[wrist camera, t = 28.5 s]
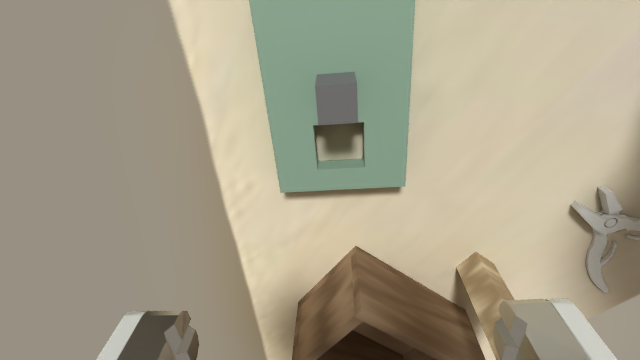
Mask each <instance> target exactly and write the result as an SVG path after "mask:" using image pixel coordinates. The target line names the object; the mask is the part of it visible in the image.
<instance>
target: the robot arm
mask: <svg viewBox="0 0 640 360" xmlns="http://www.w3.org/2000/svg"><path fill="white" fill-rule="evenodd" d="M498 311H499V313H500V315H501V318H500V319H499V320H497V321H496V322H495V325H494V329H493V336H494V343H495V347H496V350H497V353H498V355H499V358H500V360H617V359H616V357H615V356H614V355H613V354H612V352H611V351H610V350H609V348H608V347H607V346H606V344H605V343H604V342H603V341H602V339H601V338H600V337H599V336H598V334H597V333H596V331H595V330H594V329H593V327H592V326H591V325H590V324H589V322H588V321H587V320H586V318H585V317H584V316H583V314H582V313H581V312H580V310H579V309H578V308H577V307H576V305H575V304H574V303H573V302H572V301H571V300H569V299H545V300H544V299H529V300H506V301H502V302H501V303H500V306H499V309H498ZM190 320H191V318H190V316H189V314H188V312H187V311H130V312H128V313H127V314H126V315H125V316H124V317H123V318H122V320H121V321H120V323H119V324H118V326H117V328H116V329H115V331H114V332H113V334H112V335H111V337H110V339H109V340H108V342H107V343H106V345H105V346H104V348H103V350H102V351H101V353H100V355H99V356H98V358H97V359H96V360H196V358H197V354H198V346H199V341H198V335H197V332H196V330H195V329H194V328H192V327H191V326H189V323H190Z"/></svg>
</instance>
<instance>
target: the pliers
mask: <svg viewBox="0 0 640 360" xmlns="http://www.w3.org/2000/svg"><path fill="white" fill-rule="evenodd" d="M598 192H599V196H600V201H601V205H602V210H601V211H600V212H598V213H596V212H593V211H592V210H590V209H588V208H587V207H585V206H583V205H582V204H580V203H578V202H577V201H574V202H573V203H572V204H571V206H572V207H573V208H574V209H575V210H576V211H577V212H578V213H579V214H580V216H581V217H582V218H583V219H584V220H585V221H586V222H587V223H588V224H589V225H590V226H591V227H592V231H593V238H592V242H591V244H590V246H589V248H588V250H587V254H586V267H587V271H588V275H589V276H590V278H591V280H592V281H593V282H594V284H595V285H596V286H597V287H598V288H599V289H601V290H602V291H603V292H605V293H607V292H609V289H608V288H607V286H606V284H605V282H604V280H603V277H602V273H601V268H602V267H603V265H604V264H605V263H607V262H608V261H609V260H610V258H611V257H612V256H613V255H614V252H615V250H616V247H617V243H616V242H615V241H614V242H612V245H611V248H610V251H609V252H608V254H607V255H606V256H605V257H604V258H603V259H601V256H602V254H603V251H604V249H605V247H606V245H607V243H608V240H607V235H606V234H609V233H613V232H616V231H619V230H622V229H626V230H628V231H629V232H630V231H631V230H633V231H640V218H634V217H629V216H626V215H624V214H623V215H620V212H619V211H621V210H623V209H622V207H621V205H620V203H619V202H618V200H617V198H616V197H615V195H614V193H613V191H612V190H610V189H609V188H608V187H606V186H605V185H602V186H600V187H598ZM625 237H626V238H628V239H633V240H640V236H632V235H627V234H626V235H625ZM600 259H601V260H600Z"/></svg>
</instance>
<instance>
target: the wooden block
mask: <svg viewBox="0 0 640 360" xmlns="http://www.w3.org/2000/svg"><path fill="white" fill-rule="evenodd" d="M456 268H457V270H458V272H459V275H460V277H461V279H462V281H463V284H464V286H465V288H466V291H467V293H468V295H469V298H470V300H471V302H472V305H473V307H474V309H475V311H476V314H477V316H478V318H479V321H480V323H481V325H482V328H483V330H484V332H485V334H486V337H487V339H488V341H489V344H490V346H491V348H492V351H493V353H494V355H495V357H496V360H500V358H499V355H498V353H497V350H496V347H495V343H494V336H493V329H494V325H495V322H496V321H497V320H499V319H500V318H501V315H500V313H499V311H498V309H499V306H500V303H501V302H502V301H506V300H514V298H513V296H512V295H511V293H510V291H509V290H508V288H507V286H506V284H505V283H504V281H503V279H502V277H501V276H500V274H499V272H498V270H497V269H496V267H495V265H494V264H493V263H492V262H490V261H489V260H487V259H486V258H484V257H483V256H481V255H480V254H478V253H477V252H475V253H474V254H473V255H471V256H470V257H469V258H468V259H466V260H465V261H464V262H462V263H461V264H460V265H459V266H457V267H456Z"/></svg>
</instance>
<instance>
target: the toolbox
mask: <svg viewBox="0 0 640 360" xmlns="http://www.w3.org/2000/svg"><path fill="white" fill-rule="evenodd" d="M292 360H485V357H484V355H483V352H482V350H481V348H480V345H479V343H478V340H477V338H476V335H475V333H474V330H473V328H472V325H471V323H470V320H469V318H468V315H467V313H466V310H464V309H462V308H461V307H459V306H457V305H455V304H454V303H452V302H450V301H449V300H447V299H445V298H444V297H442V296H440V295H438V294H437V293H435V292H433V291H432V290H430V289H428V288H427V287H425V286H423V285H422V284H420V283H418V282H416V281H415V280H413V279H411V278H410V277H408V276H406V275H405V274H403V273H401V272H399V271H398V270H396V269H394V268H393V267H391V266H389V265H388V264H386V263H384V262H382V261H381V260H379V259H377V258H376V257H374V256H372V255H371V254H369V253H367V252H365V251H364V250H362V249H360V248H359V247H357V246H355V247H354V248H353V249H352V250H351V251H350V252H349V253H348V254H347V255H346V256H345V257H344V258H343V259H342V260H341V261H340V262H339V263H338V264H337V265H336V266H335V267H334V268H333V269H332V270H331V271H330V272H329V273H328V274H327V275H326V276H325V277H324V278H323V279H322V280H321V281H320V282H319V283H318V284H317V285H316V286H314V287H313V288H312V289H311V290H310V291H309V292H308V293H307V294H306V295H305V296H304V297H303V298H302V299H301V300H300V301H299V302H298V310H297V319H296V328H295V337H294V346H293V356H292Z"/></svg>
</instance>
